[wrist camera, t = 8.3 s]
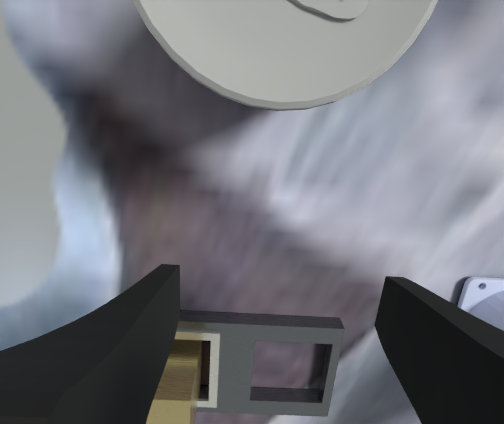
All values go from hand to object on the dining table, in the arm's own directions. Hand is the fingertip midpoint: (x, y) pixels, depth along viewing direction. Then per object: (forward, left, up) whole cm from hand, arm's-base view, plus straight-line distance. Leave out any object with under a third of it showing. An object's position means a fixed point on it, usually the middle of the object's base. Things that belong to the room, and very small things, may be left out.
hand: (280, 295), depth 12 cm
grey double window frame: (+2, +12, -10) cm, 16 cm away
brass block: (+6, +12, -10) cm, 17 cm away
